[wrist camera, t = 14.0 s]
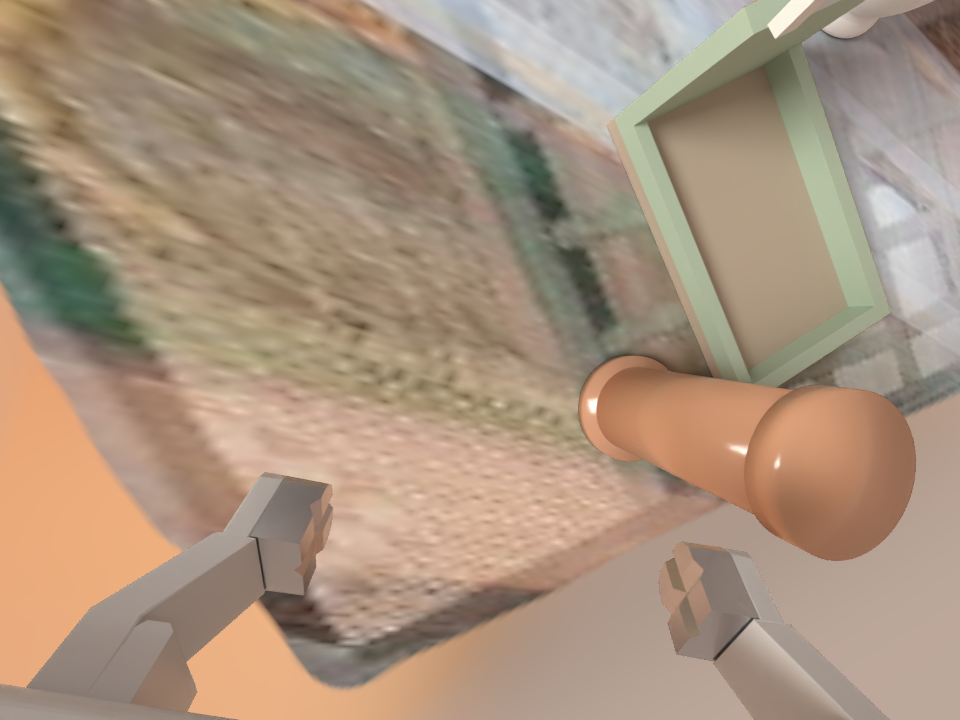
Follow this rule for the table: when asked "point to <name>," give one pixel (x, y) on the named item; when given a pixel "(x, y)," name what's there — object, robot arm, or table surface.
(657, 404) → the orange-brown capped cylinder
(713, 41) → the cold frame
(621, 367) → the terracotta round disc
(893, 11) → the jar
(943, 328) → the table surface
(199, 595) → the robot arm
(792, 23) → the lid
